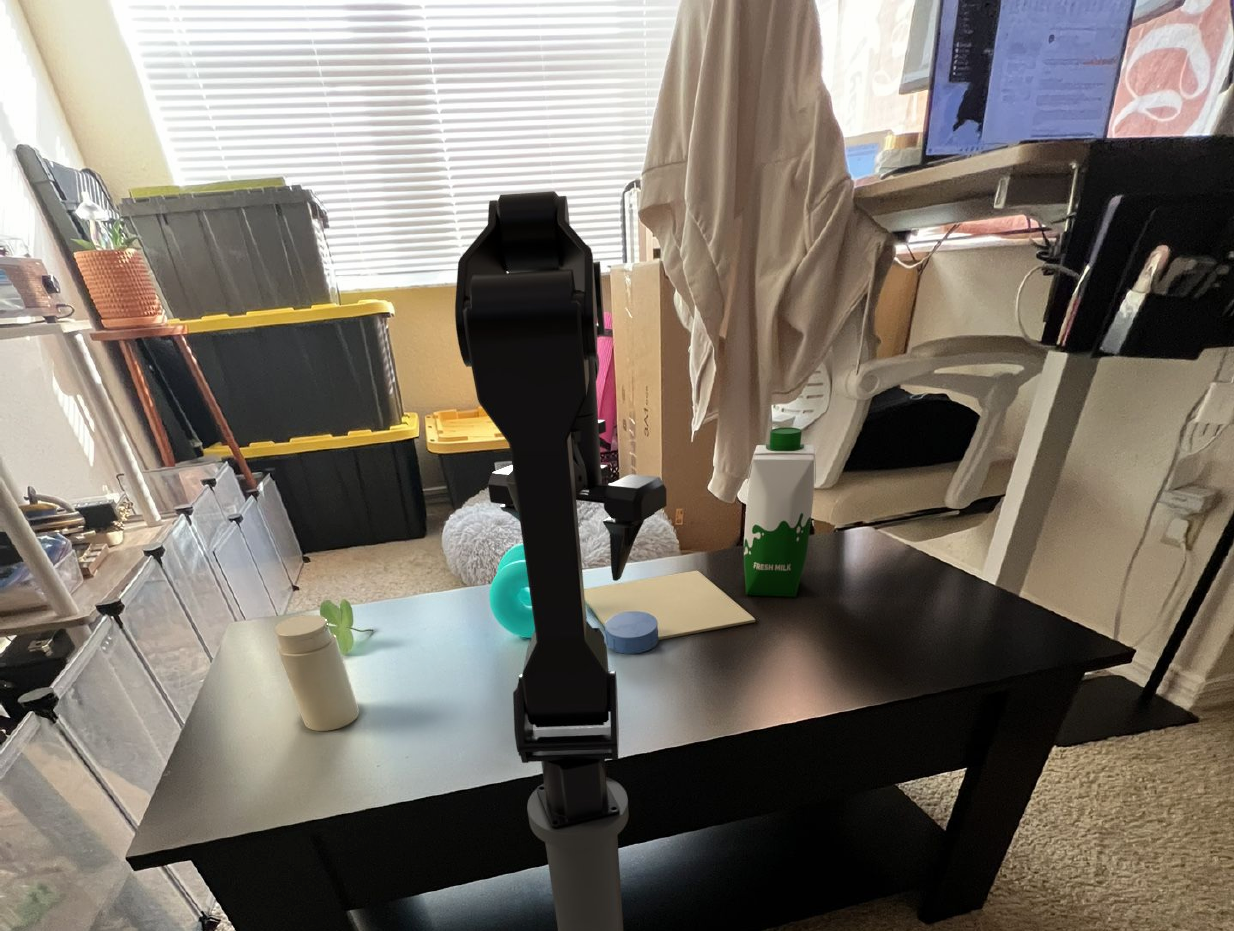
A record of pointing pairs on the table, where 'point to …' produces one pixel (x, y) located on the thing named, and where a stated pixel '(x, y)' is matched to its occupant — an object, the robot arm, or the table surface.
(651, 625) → the lid
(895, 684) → the table surface
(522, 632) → the turquoise spool
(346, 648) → the green clover
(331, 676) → the jar
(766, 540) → the milk carton
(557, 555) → the robot arm
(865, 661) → the table surface
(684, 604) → the placemat
